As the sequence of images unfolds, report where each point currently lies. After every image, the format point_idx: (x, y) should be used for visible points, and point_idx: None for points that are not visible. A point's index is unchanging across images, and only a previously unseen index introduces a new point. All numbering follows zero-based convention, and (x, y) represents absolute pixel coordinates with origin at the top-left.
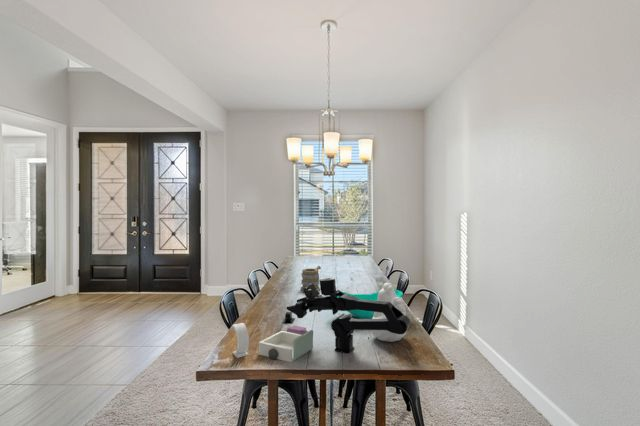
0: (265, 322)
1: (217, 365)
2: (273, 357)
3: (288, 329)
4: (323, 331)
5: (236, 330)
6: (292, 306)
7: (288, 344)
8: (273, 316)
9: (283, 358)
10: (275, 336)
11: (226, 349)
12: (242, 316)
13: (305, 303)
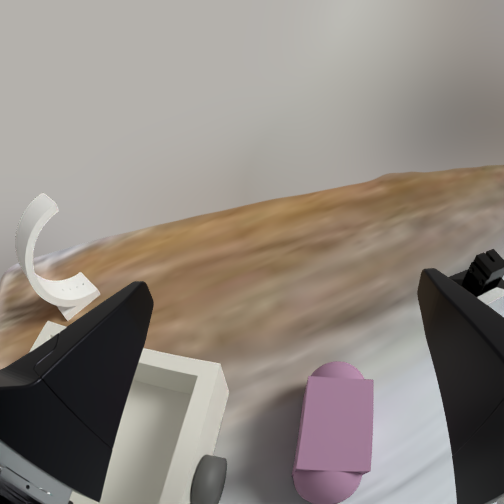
0: (406, 232)
1: (18, 280)
2: None
3: (316, 375)
4: None
5: (19, 223)
6: (43, 345)
7: (166, 446)
8: (464, 228)
9: None
10: None
11: (115, 249)
12: (395, 174)
13: (454, 416)
